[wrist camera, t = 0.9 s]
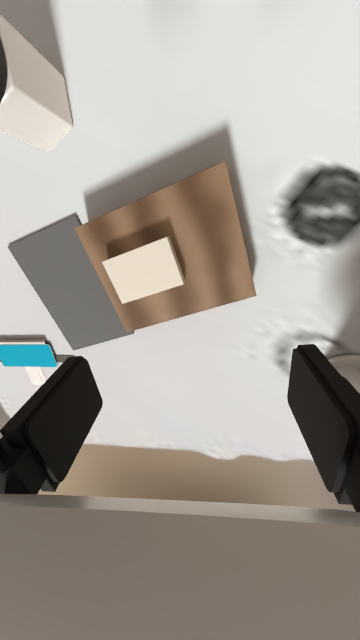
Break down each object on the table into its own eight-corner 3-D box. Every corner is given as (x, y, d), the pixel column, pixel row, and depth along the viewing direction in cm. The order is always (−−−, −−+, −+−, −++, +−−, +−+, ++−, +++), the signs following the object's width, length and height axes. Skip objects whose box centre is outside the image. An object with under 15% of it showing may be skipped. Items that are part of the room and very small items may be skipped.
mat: (76, 215, 31) (75, 215, 31) (134, 332, 39) (133, 333, 38) (9, 246, 34) (7, 246, 34) (74, 349, 42) (73, 350, 41)
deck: (223, 168, 27) (225, 160, 23) (251, 287, 33) (256, 295, 29) (89, 227, 32) (74, 228, 28) (134, 321, 38) (126, 332, 34)
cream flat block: (169, 235, 27) (166, 237, 25) (185, 280, 29) (183, 284, 28) (108, 259, 29) (101, 262, 28) (127, 299, 32) (122, 304, 30)
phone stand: (2, 381, 49) (-5, 386, 47) (-23, 334, 44) (-31, 339, 42) (85, 383, 46) (81, 388, 45) (69, 334, 41) (64, 338, 40)
